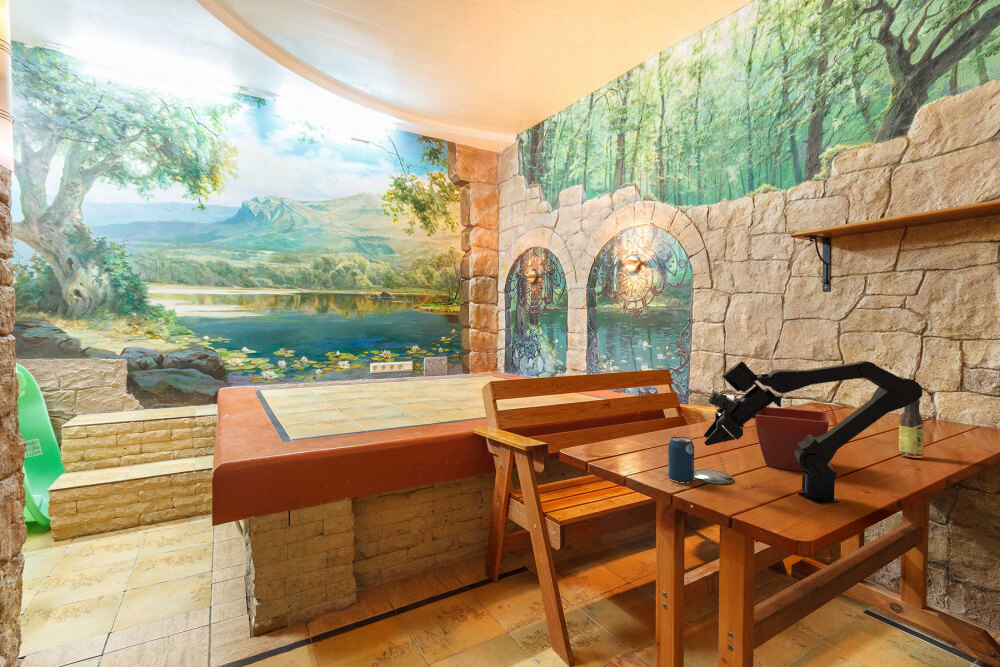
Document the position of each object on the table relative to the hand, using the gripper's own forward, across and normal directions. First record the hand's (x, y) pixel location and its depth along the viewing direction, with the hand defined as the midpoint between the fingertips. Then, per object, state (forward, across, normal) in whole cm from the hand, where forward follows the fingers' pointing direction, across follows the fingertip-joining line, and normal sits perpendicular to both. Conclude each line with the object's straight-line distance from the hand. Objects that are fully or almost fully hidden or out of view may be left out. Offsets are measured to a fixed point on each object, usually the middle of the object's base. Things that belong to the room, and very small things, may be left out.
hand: (705, 440), depth 126 cm
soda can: (+13, 0, +4) cm, 14 cm away
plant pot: (-9, -30, +27) cm, 41 cm away
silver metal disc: (+7, -6, +10) cm, 14 cm away
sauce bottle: (-37, -57, +54) cm, 87 cm away
